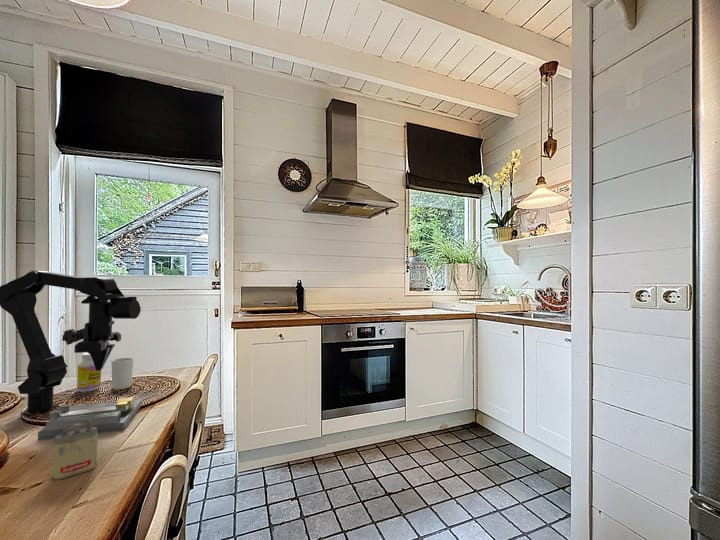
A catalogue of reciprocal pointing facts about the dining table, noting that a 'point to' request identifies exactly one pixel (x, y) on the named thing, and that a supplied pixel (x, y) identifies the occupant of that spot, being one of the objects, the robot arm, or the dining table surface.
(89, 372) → the supplement bottle
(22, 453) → the dining table surface
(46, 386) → the robot arm
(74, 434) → the pale red-labelled box
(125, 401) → the pale yellow lumpy block
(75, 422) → the grey stone tray
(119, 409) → the strap
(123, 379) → the white cup
